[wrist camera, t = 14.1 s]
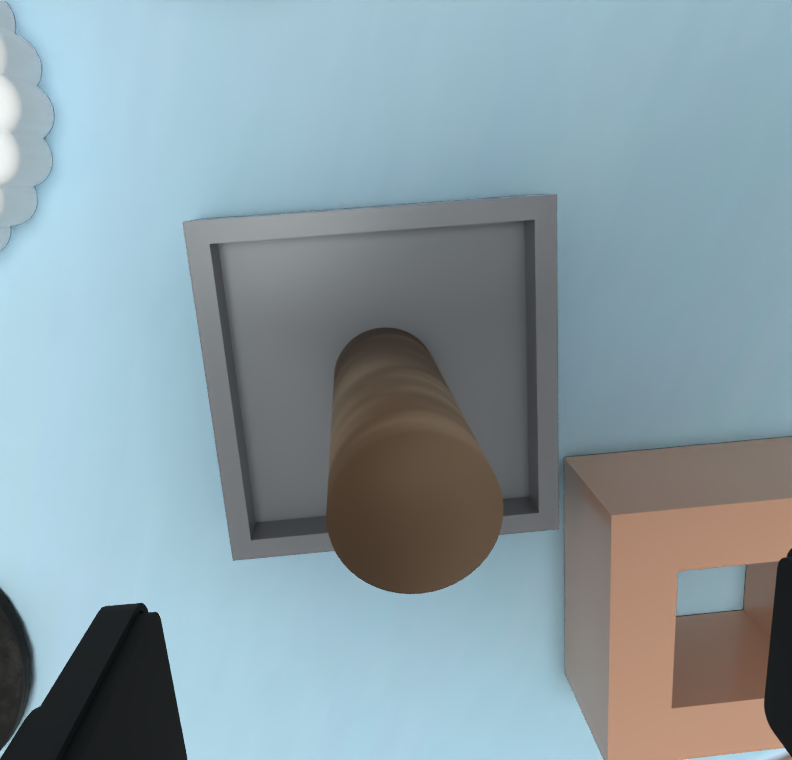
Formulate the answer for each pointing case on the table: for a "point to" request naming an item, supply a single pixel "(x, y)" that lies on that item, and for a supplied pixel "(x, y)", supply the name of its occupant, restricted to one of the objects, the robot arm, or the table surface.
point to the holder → (12, 671)
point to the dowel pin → (405, 470)
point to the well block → (673, 595)
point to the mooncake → (20, 127)
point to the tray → (364, 310)
